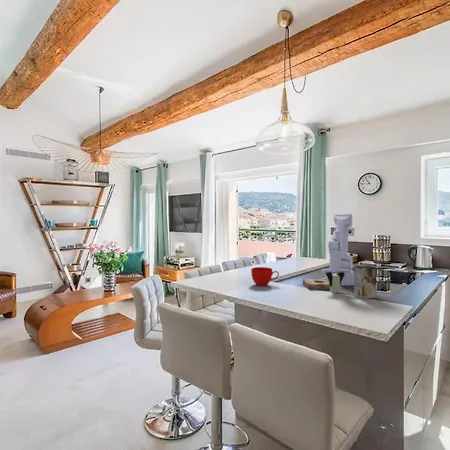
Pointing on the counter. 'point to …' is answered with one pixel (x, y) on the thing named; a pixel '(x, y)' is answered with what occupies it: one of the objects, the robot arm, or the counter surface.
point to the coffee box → (365, 282)
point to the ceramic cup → (262, 275)
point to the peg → (335, 284)
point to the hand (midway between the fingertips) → (334, 285)
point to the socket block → (316, 283)
